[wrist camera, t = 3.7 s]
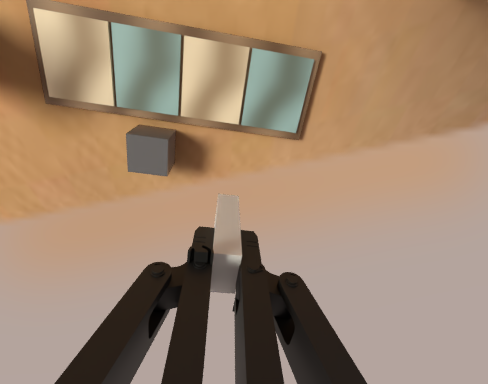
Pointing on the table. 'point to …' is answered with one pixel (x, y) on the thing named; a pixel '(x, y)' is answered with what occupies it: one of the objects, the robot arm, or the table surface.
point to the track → (170, 71)
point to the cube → (150, 150)
